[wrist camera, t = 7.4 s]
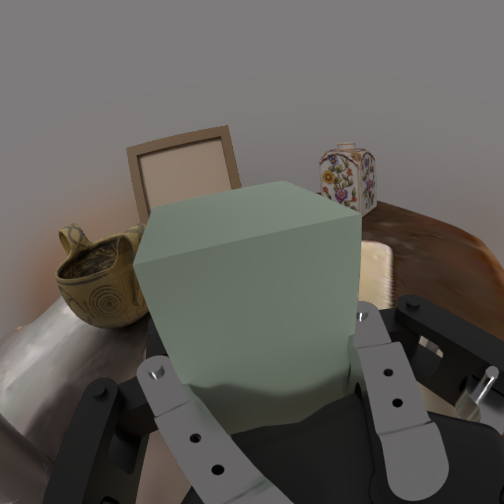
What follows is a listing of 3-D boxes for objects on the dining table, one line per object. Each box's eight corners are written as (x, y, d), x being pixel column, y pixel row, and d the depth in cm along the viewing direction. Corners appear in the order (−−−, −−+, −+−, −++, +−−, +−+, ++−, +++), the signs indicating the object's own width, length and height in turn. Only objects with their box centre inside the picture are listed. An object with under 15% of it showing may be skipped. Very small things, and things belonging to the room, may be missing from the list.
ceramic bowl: (61, 324, 39) (26, 246, 32) (124, 278, 52) (101, 208, 46) (135, 371, 28) (80, 257, 22) (211, 296, 42) (188, 200, 36)
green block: (237, 478, 10) (132, 264, 5) (219, 407, 14) (153, 207, 10) (332, 448, 11) (361, 213, 6) (298, 384, 15) (284, 180, 10)
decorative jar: (361, 219, 62) (357, 144, 55) (321, 213, 70) (314, 144, 63) (378, 206, 70) (375, 141, 62) (341, 202, 78) (336, 141, 70)
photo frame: (253, 242, 59) (233, 122, 49) (152, 268, 54) (121, 147, 44) (237, 224, 72) (220, 128, 62) (155, 244, 68) (132, 148, 58)
